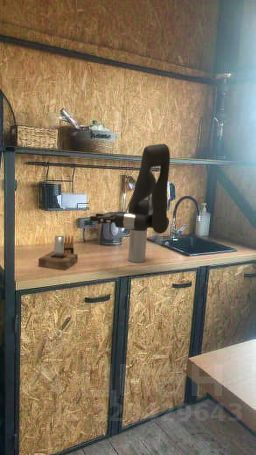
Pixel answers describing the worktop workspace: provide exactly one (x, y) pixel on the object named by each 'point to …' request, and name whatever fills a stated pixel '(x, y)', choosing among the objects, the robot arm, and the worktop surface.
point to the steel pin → (59, 247)
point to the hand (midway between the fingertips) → (93, 217)
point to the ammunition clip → (68, 245)
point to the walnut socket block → (58, 261)
